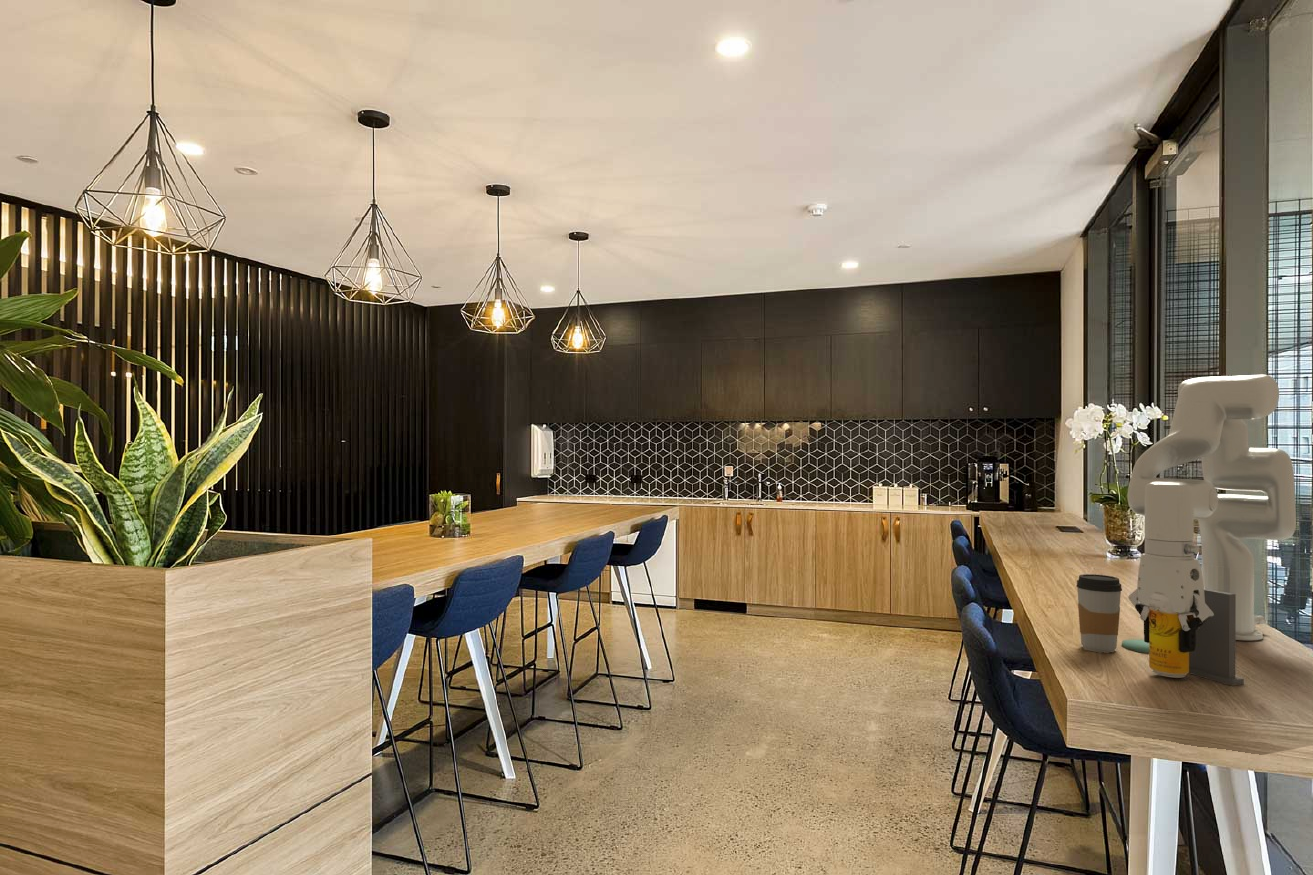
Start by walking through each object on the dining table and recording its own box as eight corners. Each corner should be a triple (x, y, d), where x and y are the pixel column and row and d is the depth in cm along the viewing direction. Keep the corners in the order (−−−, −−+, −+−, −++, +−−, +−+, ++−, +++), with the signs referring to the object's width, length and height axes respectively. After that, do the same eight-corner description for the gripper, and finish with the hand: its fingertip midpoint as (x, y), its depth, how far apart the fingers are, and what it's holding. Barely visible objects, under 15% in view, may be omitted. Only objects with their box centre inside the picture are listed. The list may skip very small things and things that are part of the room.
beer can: (1141, 668, 144) (1141, 589, 144) (1172, 667, 145) (1171, 588, 144) (1165, 679, 138) (1165, 595, 138) (1197, 677, 139) (1197, 595, 138)
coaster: (1144, 640, 168) (1144, 637, 168) (1190, 652, 158) (1190, 649, 158) (1110, 644, 164) (1110, 641, 164) (1154, 656, 155) (1154, 653, 155)
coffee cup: (1128, 655, 156) (1128, 581, 156) (1083, 653, 157) (1084, 579, 157) (1113, 644, 164) (1113, 574, 164) (1070, 642, 165) (1070, 573, 166)
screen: (1163, 661, 152) (1164, 580, 152) (1243, 684, 137) (1244, 594, 137) (1152, 662, 151) (1153, 581, 151) (1232, 685, 136) (1232, 595, 136)
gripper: (1231, 554, 134) (1231, 657, 134) (1140, 541, 150) (1140, 633, 151) (1201, 557, 132) (1201, 661, 132) (1111, 543, 148) (1112, 636, 148)
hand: (1169, 645), depth 141 cm, fingers closed on beer can, 6 cm apart
